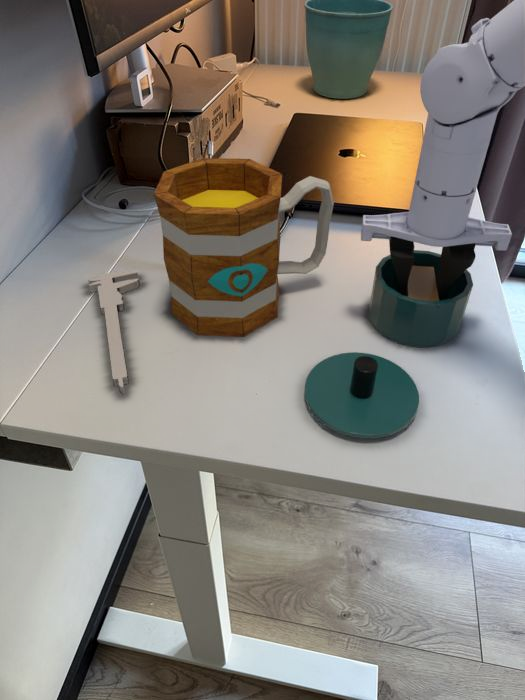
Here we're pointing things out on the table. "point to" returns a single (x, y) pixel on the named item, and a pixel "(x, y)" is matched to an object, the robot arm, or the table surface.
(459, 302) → the pot
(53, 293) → the table surface
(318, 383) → the pot lid
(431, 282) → the tall bronze cuboid
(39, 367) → the table surface
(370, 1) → the flower pot
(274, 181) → the mug
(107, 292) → the caliper
